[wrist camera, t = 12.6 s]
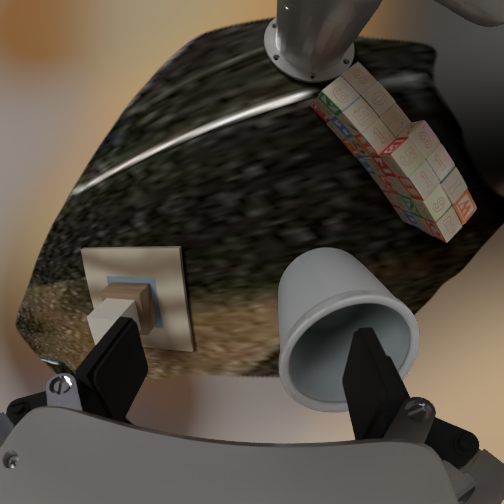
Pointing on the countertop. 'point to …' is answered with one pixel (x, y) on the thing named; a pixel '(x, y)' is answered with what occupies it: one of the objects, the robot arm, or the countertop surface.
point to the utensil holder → (335, 325)
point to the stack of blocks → (397, 153)
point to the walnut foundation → (142, 301)
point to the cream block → (110, 316)
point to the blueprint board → (161, 284)
